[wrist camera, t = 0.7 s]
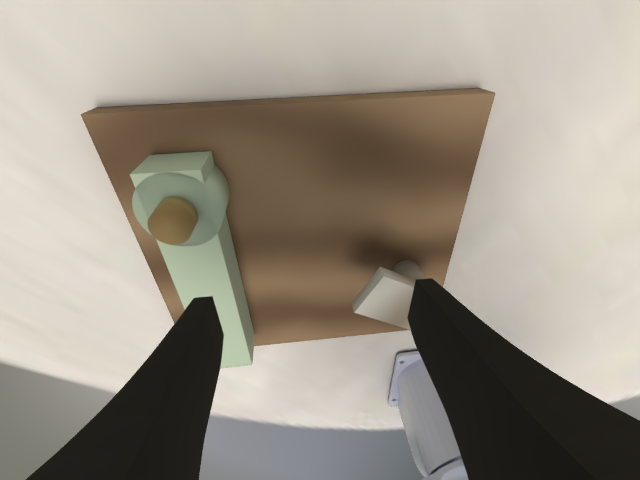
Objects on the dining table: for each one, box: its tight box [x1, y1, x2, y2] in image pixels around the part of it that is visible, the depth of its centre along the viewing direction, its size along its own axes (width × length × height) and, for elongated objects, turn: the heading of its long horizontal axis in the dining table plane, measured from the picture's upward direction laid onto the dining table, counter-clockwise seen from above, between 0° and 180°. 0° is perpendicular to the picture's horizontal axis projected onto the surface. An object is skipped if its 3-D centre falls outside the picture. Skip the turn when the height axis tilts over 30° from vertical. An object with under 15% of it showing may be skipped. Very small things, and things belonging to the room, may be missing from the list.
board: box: [81, 88, 495, 346], centre depth 19 cm, size 18×20×6 cm
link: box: [130, 151, 255, 368], centre depth 18 cm, size 14×4×2 cm, turn 1°
